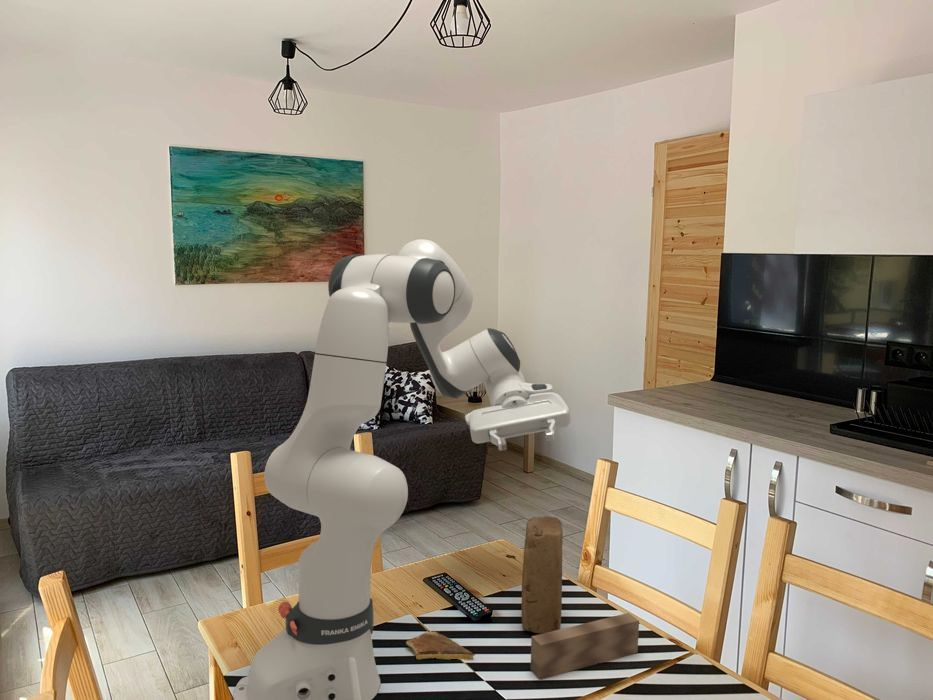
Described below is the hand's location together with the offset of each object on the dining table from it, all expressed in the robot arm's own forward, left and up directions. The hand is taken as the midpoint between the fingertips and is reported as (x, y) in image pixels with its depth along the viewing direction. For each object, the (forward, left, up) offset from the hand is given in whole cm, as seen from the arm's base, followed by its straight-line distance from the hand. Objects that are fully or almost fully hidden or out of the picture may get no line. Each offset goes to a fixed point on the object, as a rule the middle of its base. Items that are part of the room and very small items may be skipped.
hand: (527, 442), depth 136 cm
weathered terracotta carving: (0, -6, -34) cm, 34 cm away
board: (0, -21, -33) cm, 39 cm away
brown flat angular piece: (-21, -7, -34) cm, 40 cm away
